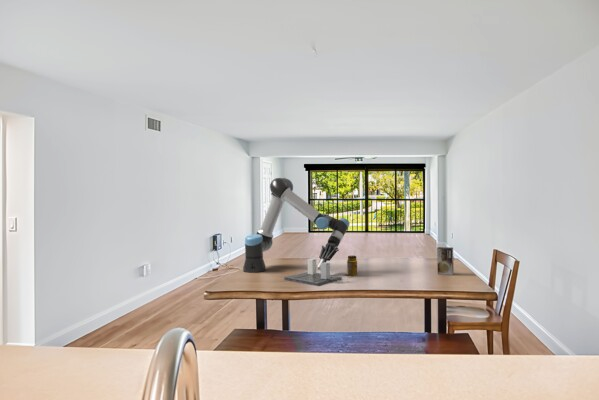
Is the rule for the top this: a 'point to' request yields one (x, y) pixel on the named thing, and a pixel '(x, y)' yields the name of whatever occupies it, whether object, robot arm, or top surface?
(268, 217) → the robot arm
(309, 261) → the block
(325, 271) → the block
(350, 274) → the condiment
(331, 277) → the dark grey flat board
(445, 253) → the coffee box
